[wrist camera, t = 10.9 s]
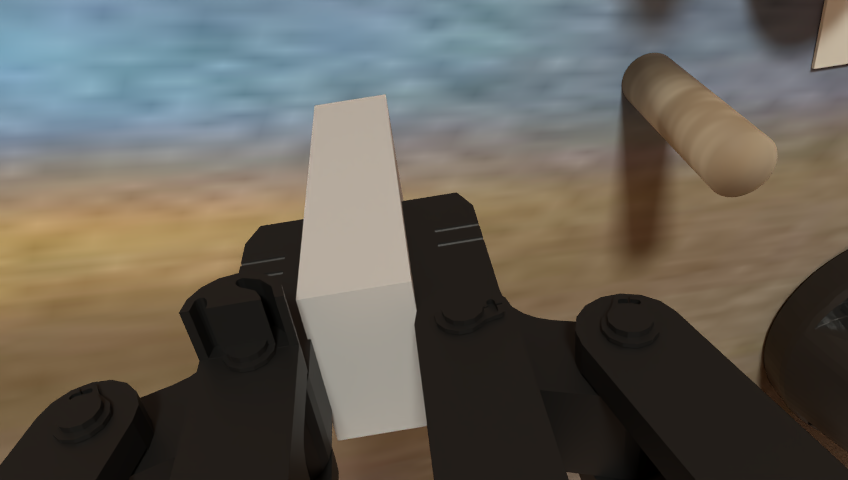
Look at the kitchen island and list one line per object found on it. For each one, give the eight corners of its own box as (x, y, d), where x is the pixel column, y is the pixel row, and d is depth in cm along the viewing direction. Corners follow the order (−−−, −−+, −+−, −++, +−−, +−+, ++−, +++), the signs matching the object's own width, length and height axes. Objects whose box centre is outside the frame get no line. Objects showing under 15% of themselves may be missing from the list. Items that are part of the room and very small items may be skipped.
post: (678, 48, 31) (783, 127, 24) (673, 101, 33) (771, 191, 25) (622, 57, 31) (710, 138, 24) (621, 109, 33) (703, 201, 25)
